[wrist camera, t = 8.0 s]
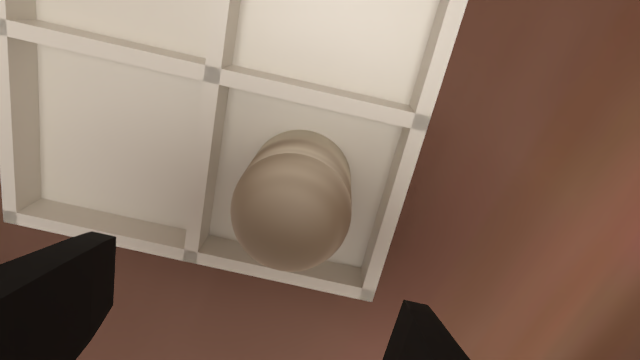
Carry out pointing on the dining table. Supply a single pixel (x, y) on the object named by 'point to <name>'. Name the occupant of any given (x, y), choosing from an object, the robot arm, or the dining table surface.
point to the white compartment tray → (213, 117)
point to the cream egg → (293, 202)
